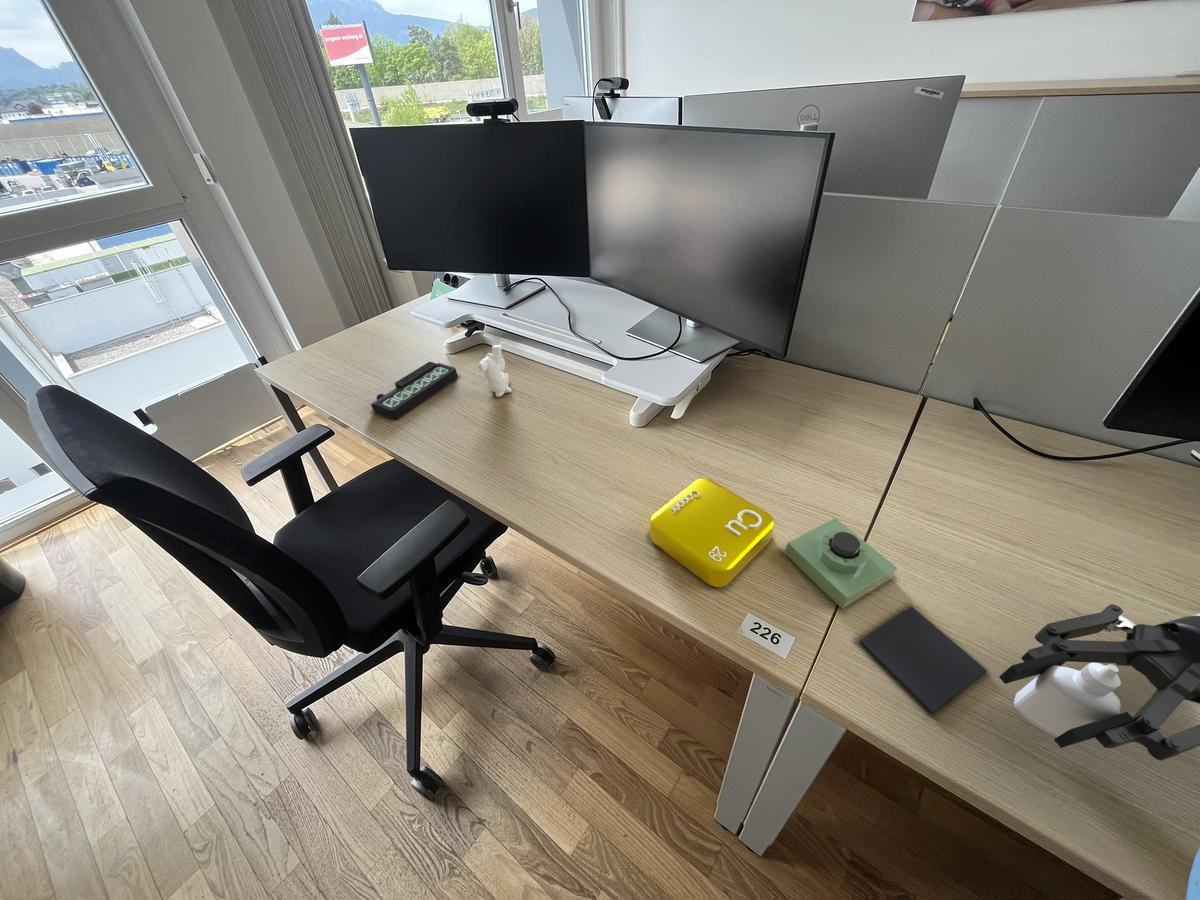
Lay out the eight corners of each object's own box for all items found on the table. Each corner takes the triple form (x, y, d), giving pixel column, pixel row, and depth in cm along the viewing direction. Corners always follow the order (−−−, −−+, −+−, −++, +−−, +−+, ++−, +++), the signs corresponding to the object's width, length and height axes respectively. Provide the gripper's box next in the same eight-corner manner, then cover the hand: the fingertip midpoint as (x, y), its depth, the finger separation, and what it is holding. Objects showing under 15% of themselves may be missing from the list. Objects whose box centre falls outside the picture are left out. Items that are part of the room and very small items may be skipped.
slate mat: (984, 672, 57) (987, 670, 57) (931, 714, 54) (933, 712, 54) (910, 608, 64) (911, 606, 64) (859, 642, 61) (860, 640, 61)
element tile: (701, 490, 84) (703, 471, 81) (775, 536, 75) (781, 516, 72) (644, 537, 77) (644, 518, 74) (719, 593, 68) (722, 574, 65)
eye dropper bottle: (1054, 752, 49) (1130, 705, 41) (1003, 699, 53) (1064, 647, 45) (1085, 737, 50) (1166, 689, 42) (1033, 686, 54) (1098, 634, 46)
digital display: (429, 358, 123) (456, 367, 119) (432, 368, 125) (459, 377, 121) (363, 398, 110) (391, 410, 106) (368, 409, 112) (396, 421, 108)
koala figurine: (504, 380, 118) (494, 337, 111) (522, 387, 115) (514, 344, 107) (479, 396, 113) (467, 352, 106) (498, 404, 110) (487, 360, 102)
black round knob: (862, 552, 67) (866, 545, 66) (844, 563, 66) (848, 555, 65) (842, 535, 69) (845, 528, 68) (824, 545, 68) (827, 537, 67)
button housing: (891, 578, 68) (901, 559, 65) (841, 608, 65) (851, 590, 62) (830, 528, 75) (838, 509, 73) (784, 553, 72) (790, 535, 69)
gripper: (1308, 760, 45) (1107, 827, 42) (1108, 596, 59) (947, 638, 56) (1388, 731, 40) (1167, 805, 37) (1149, 560, 54) (976, 604, 51)
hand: (1035, 705), depth 46 cm, fingers closed on eye dropper bottle, 5 cm apart
